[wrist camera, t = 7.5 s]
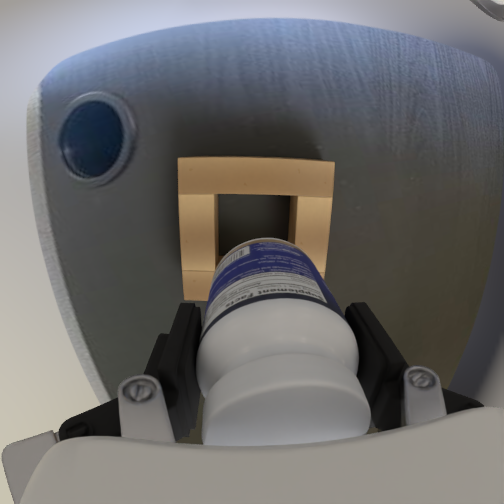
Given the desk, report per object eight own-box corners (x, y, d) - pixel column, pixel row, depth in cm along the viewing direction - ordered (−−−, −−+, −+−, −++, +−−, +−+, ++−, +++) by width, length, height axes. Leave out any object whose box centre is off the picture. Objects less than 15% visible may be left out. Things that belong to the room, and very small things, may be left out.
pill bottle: (312, 327, 17) (359, 474, 8) (214, 329, 17) (194, 483, 8) (322, 234, 15) (418, 357, 6) (210, 233, 15) (161, 369, 6)
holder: (186, 156, 26) (177, 157, 23) (322, 159, 27) (335, 162, 23) (190, 281, 31) (184, 300, 27) (312, 283, 31) (321, 301, 27)
